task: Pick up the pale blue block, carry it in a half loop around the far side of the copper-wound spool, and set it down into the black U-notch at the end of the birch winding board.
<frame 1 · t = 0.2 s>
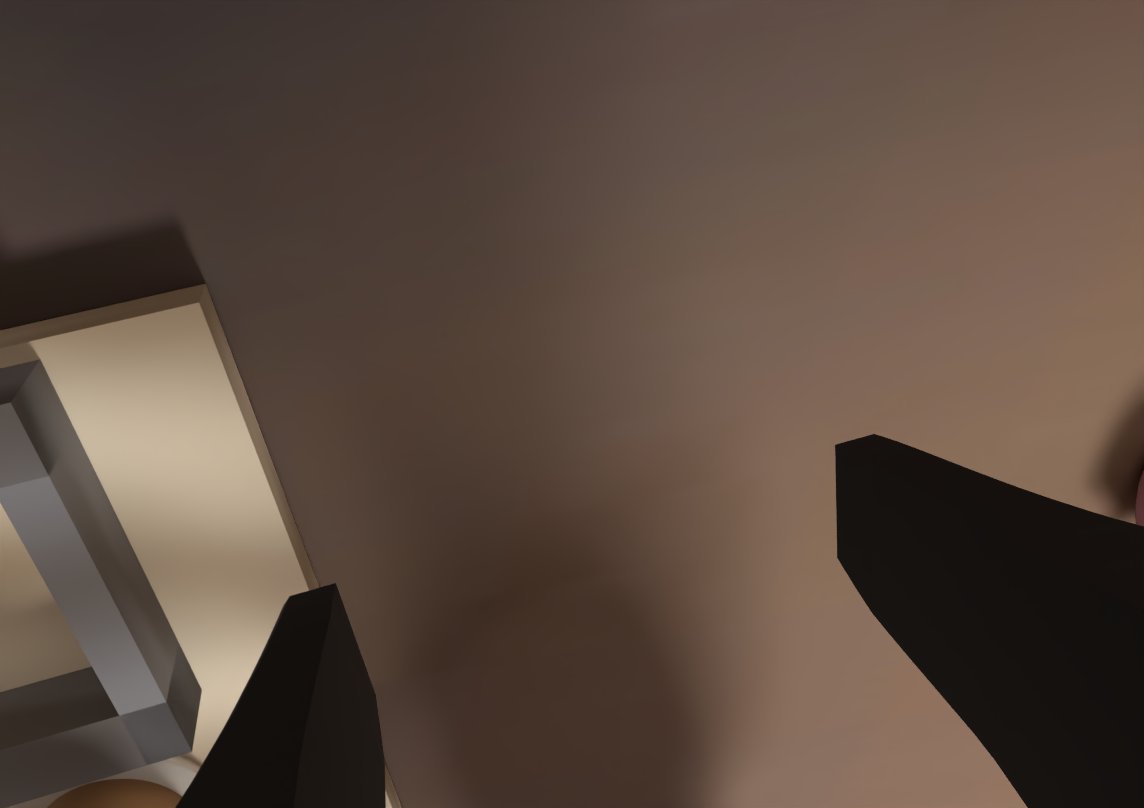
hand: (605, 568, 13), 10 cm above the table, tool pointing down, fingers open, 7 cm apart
winding board: (166, 772, 25), on the table
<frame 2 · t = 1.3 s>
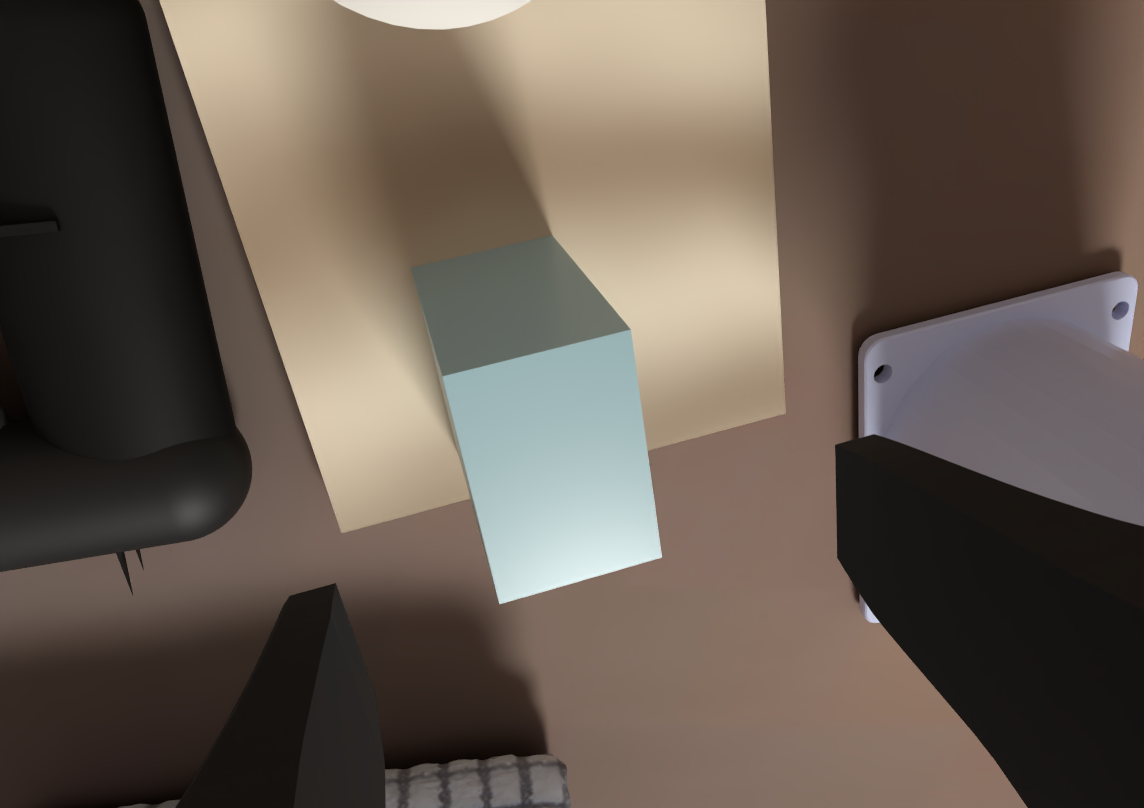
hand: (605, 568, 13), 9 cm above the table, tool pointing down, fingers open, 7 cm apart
pale blue block: (503, 349, 20), point 1 cm above the table, touching winding board
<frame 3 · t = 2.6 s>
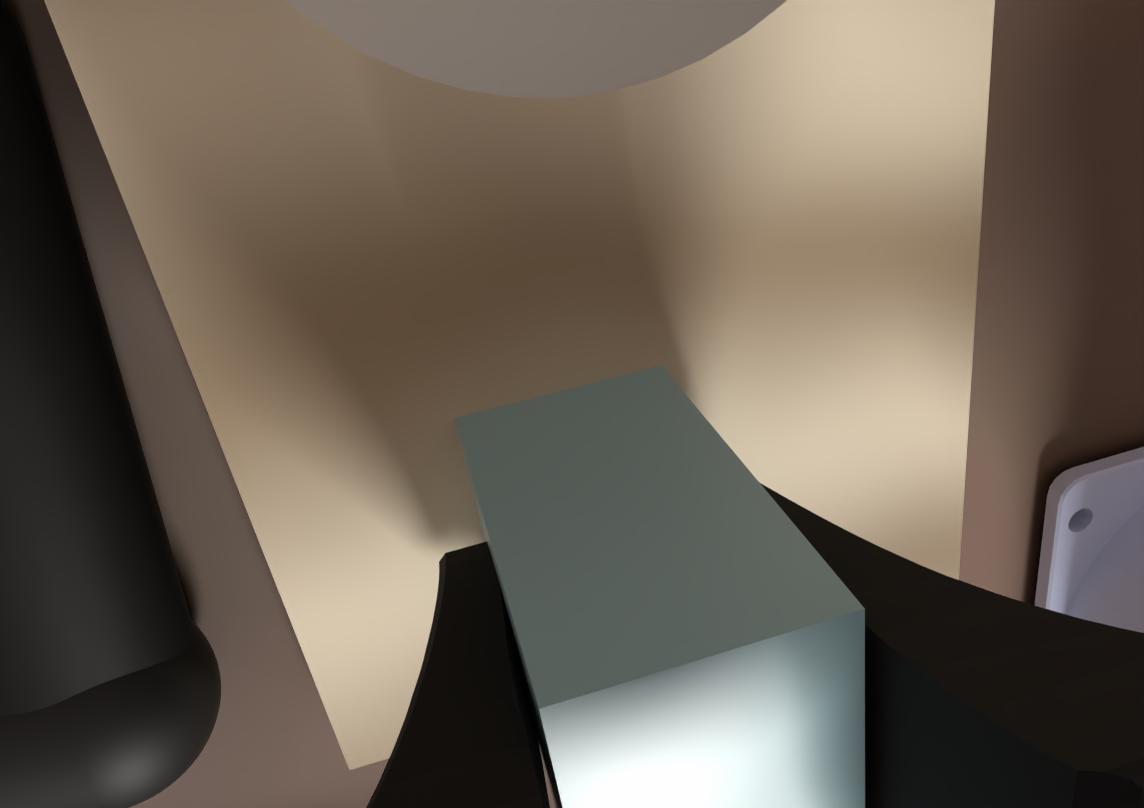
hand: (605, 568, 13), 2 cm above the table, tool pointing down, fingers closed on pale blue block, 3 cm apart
pale blue block: (583, 521, 14), point 1 cm above the table, touching gripper, winding board
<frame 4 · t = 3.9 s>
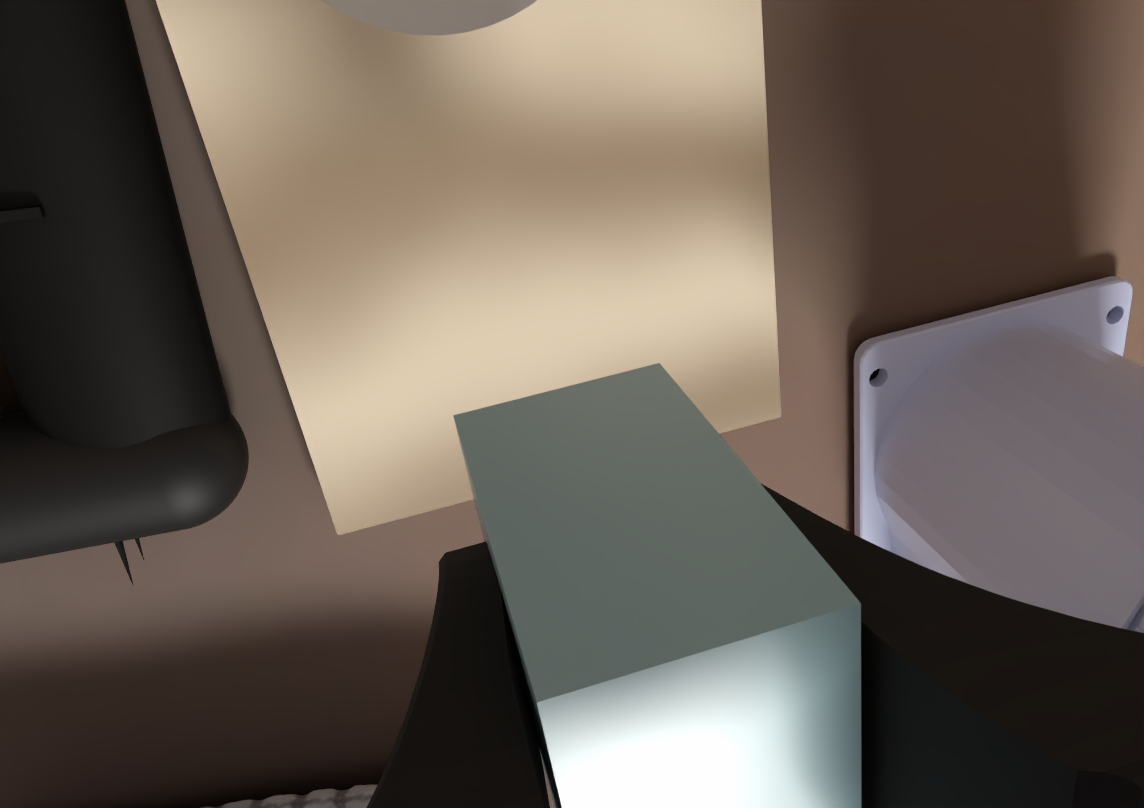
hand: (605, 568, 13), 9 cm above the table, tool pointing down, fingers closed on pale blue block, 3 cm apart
pale blue block: (581, 518, 14), point 8 cm above the table, touching gripper
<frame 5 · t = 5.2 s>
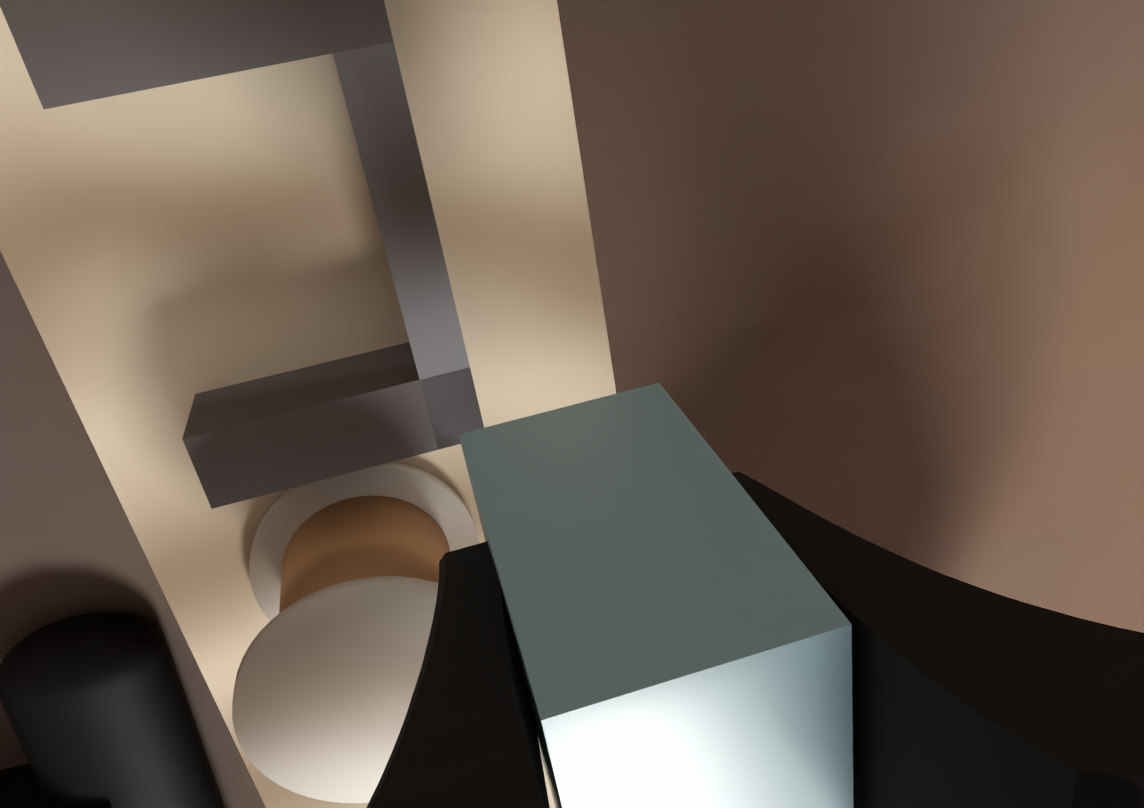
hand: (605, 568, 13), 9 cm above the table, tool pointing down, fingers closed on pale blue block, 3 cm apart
pale blue block: (583, 533, 14), point 8 cm above the table, touching gripper
winding board: (405, 517, 22), on the table
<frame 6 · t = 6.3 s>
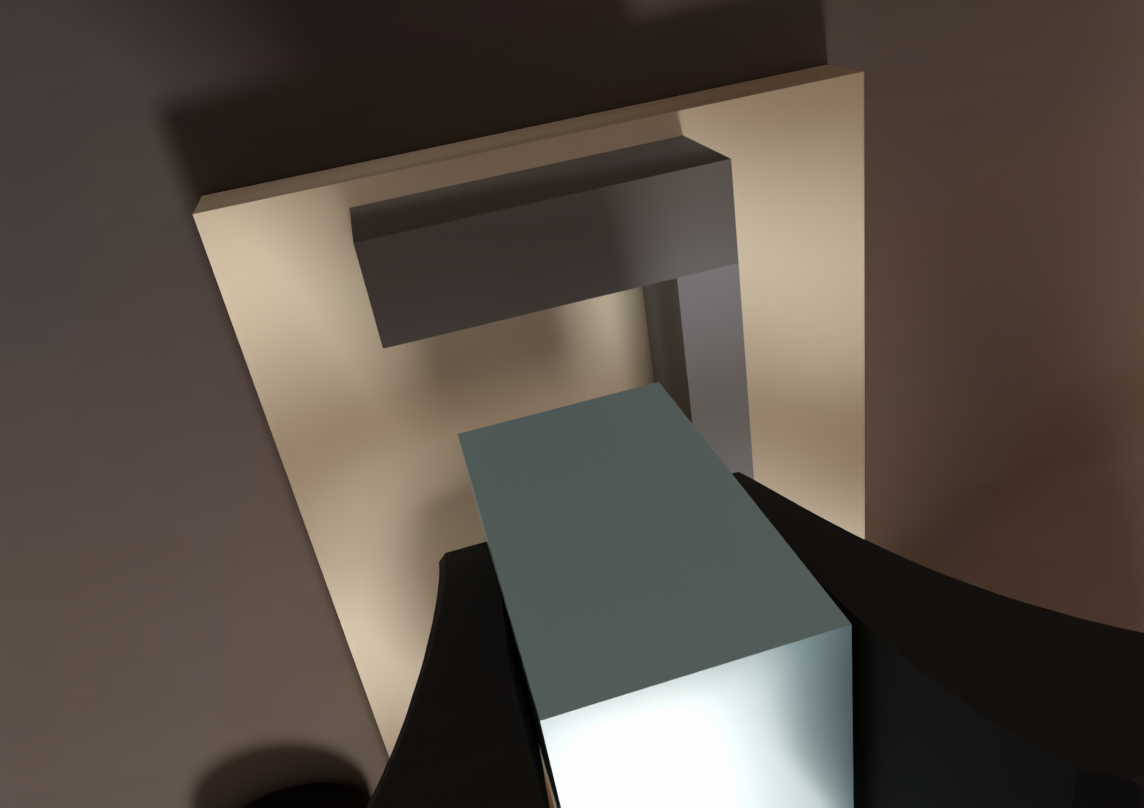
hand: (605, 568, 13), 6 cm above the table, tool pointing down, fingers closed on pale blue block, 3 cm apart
pale blue block: (583, 533, 14), point 4 cm above the table, touching gripper
winding board: (627, 681, 21), on the table
when the fingers open (4 cm above the table, at t = 7.0 s): pale blue block drops 1 cm, resting on winding board.
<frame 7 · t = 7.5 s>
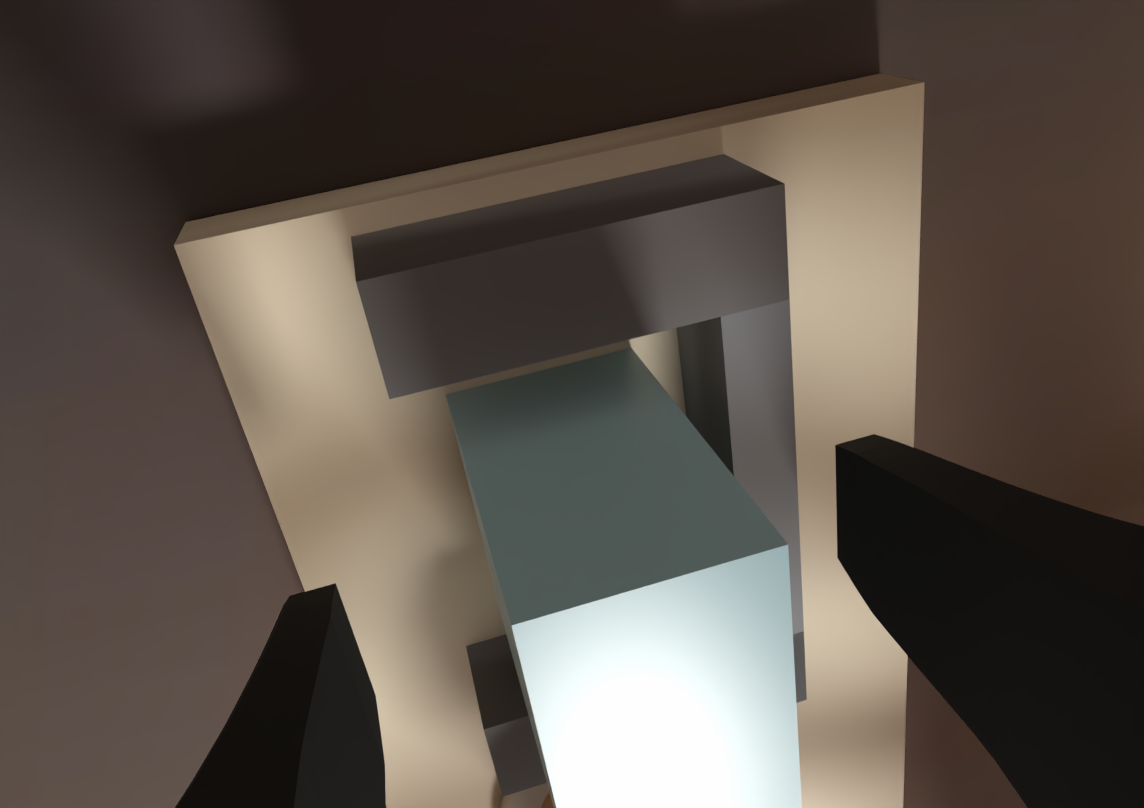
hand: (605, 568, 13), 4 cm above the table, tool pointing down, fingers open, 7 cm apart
pale blue block: (562, 489, 15), point 1 cm above the table, touching winding board
winding board: (649, 736, 20), on the table
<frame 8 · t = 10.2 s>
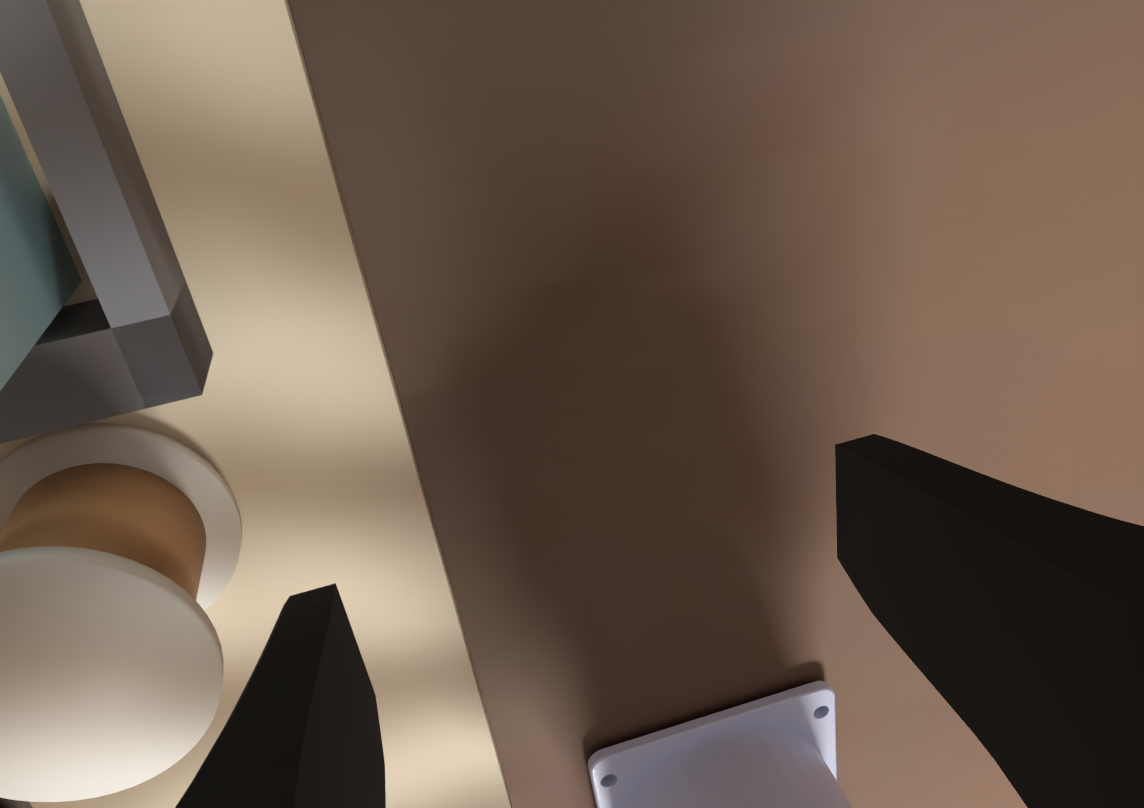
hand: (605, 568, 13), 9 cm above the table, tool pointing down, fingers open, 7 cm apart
winding board: (169, 490, 21), on the table
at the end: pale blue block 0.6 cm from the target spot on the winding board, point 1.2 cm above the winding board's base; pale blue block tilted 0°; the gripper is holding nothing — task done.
